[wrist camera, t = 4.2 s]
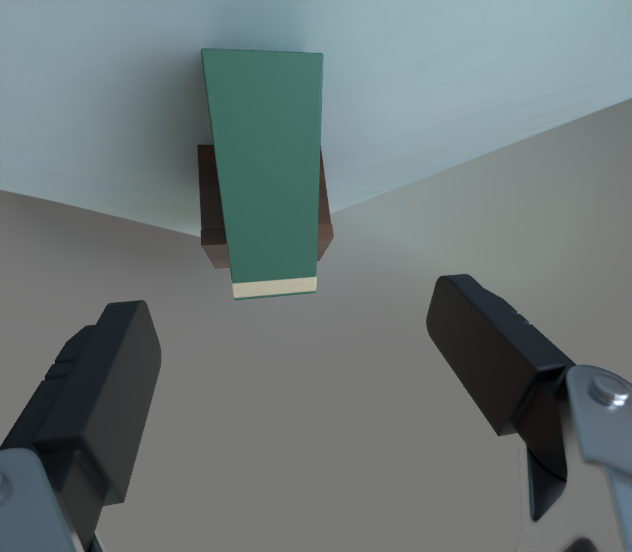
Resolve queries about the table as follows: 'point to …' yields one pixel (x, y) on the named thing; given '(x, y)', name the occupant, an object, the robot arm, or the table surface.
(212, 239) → the walnut box
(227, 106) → the green block
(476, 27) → the table surface
